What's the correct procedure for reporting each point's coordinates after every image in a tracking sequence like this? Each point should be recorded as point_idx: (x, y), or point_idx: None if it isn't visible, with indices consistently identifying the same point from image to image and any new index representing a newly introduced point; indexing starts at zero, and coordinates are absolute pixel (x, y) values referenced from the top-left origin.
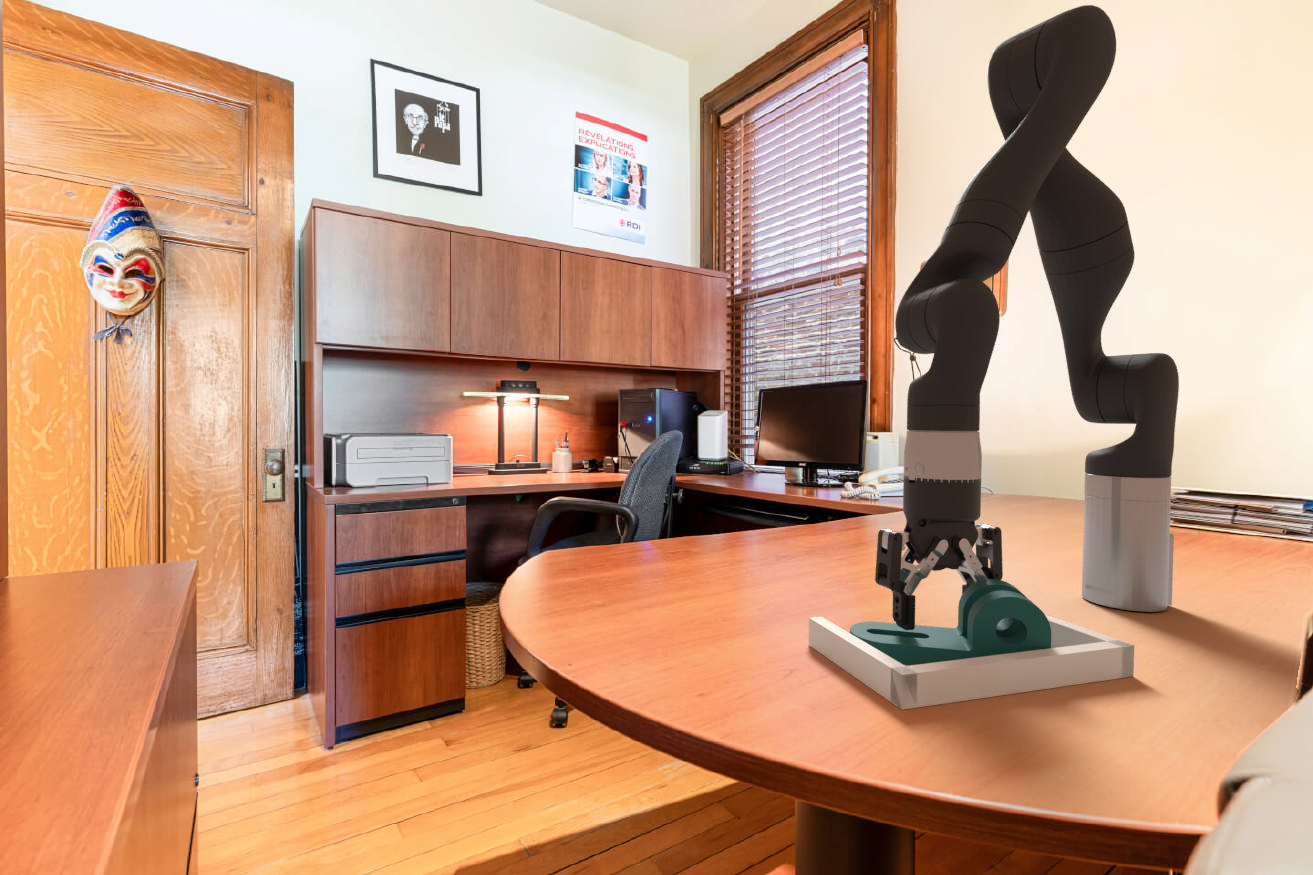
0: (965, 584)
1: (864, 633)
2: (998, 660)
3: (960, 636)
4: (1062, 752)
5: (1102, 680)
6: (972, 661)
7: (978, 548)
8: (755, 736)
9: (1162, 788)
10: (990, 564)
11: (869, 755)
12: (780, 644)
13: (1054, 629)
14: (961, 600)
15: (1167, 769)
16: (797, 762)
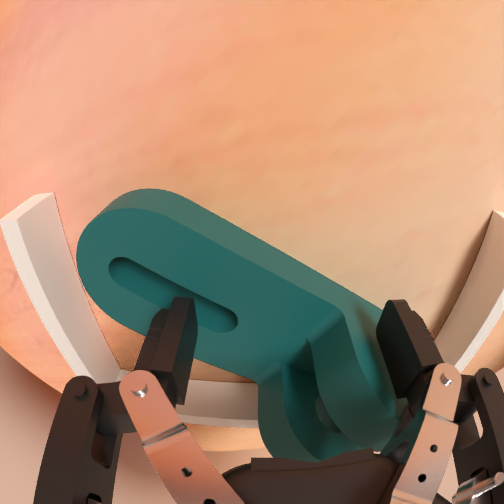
0: (431, 364)
1: (99, 276)
2: (233, 425)
3: (301, 341)
4: (206, 429)
5: None
6: (197, 420)
7: (491, 452)
8: (12, 350)
9: (232, 446)
10: (456, 439)
11: None
12: (3, 181)
13: (458, 345)
14: (349, 380)
15: (256, 443)
16: (37, 376)
